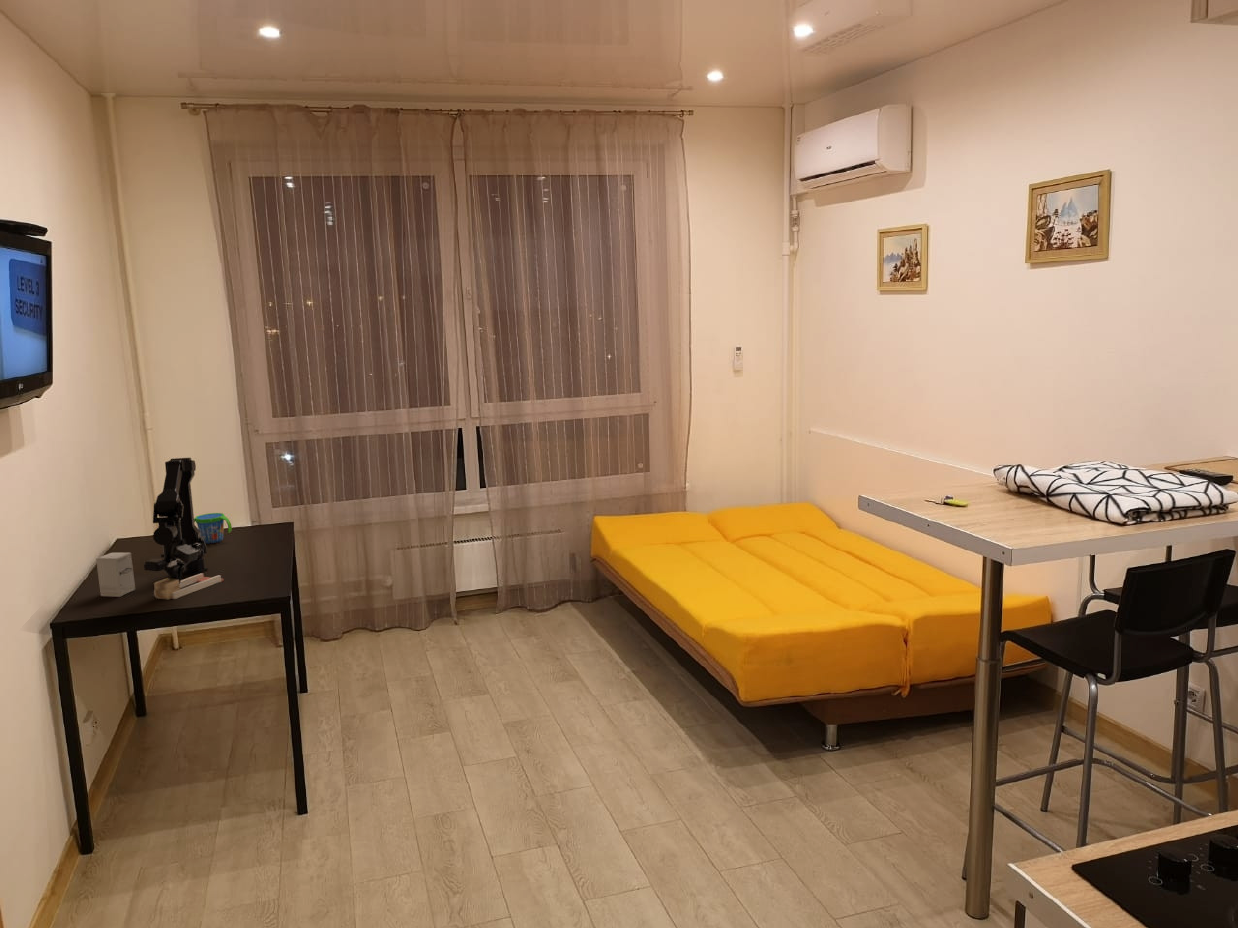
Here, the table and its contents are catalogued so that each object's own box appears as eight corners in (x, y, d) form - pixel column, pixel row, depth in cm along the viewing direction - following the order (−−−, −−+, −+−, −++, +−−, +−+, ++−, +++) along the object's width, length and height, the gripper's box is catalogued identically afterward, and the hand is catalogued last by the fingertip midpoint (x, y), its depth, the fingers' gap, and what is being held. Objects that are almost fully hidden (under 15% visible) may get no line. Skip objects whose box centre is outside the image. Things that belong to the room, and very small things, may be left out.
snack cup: (185, 544, 362) (182, 518, 361) (202, 537, 373) (199, 512, 371) (222, 545, 360) (219, 519, 358) (238, 538, 370) (235, 512, 368)
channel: (154, 596, 299) (154, 590, 299) (204, 578, 317) (203, 572, 317) (175, 598, 296) (174, 592, 296) (223, 580, 314) (223, 574, 314)
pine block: (156, 598, 297) (154, 582, 297) (168, 593, 302) (166, 578, 301) (167, 599, 296) (166, 584, 295) (180, 594, 300) (178, 579, 299)
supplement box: (120, 597, 300) (115, 558, 297) (100, 596, 301) (94, 558, 299) (136, 589, 307) (131, 552, 305) (116, 589, 308) (111, 551, 306)
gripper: (166, 546, 288) (172, 595, 290) (213, 531, 304) (219, 578, 307) (139, 544, 292) (146, 592, 295) (187, 529, 309) (193, 575, 311)
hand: (177, 584), depth 302 cm, fingers closed
